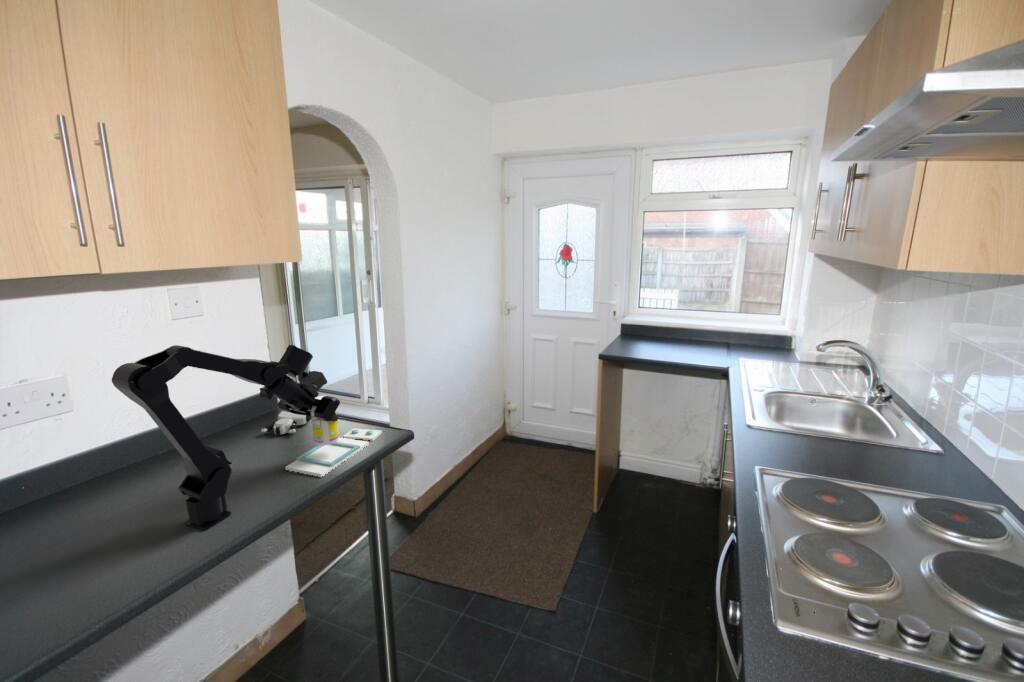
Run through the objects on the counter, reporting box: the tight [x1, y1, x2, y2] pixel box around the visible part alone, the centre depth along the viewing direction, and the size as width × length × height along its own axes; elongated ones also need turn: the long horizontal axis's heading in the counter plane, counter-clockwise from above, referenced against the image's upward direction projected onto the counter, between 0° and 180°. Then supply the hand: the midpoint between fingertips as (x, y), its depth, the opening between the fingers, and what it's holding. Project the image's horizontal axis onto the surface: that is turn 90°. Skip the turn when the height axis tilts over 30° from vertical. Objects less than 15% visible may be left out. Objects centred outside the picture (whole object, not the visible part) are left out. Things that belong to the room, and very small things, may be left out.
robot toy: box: [260, 409, 312, 435], centre depth 154 cm, size 12×4×15 cm
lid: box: [342, 428, 383, 442], centre depth 147 cm, size 6×10×1 cm, turn 78°
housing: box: [285, 436, 370, 478], centre depth 133 cm, size 20×12×2 cm, turn 160°
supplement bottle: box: [311, 394, 340, 446], centre depth 131 cm, size 7×7×13 cm
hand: (328, 417), depth 132 cm, fingers closed on supplement bottle, 7 cm apart
